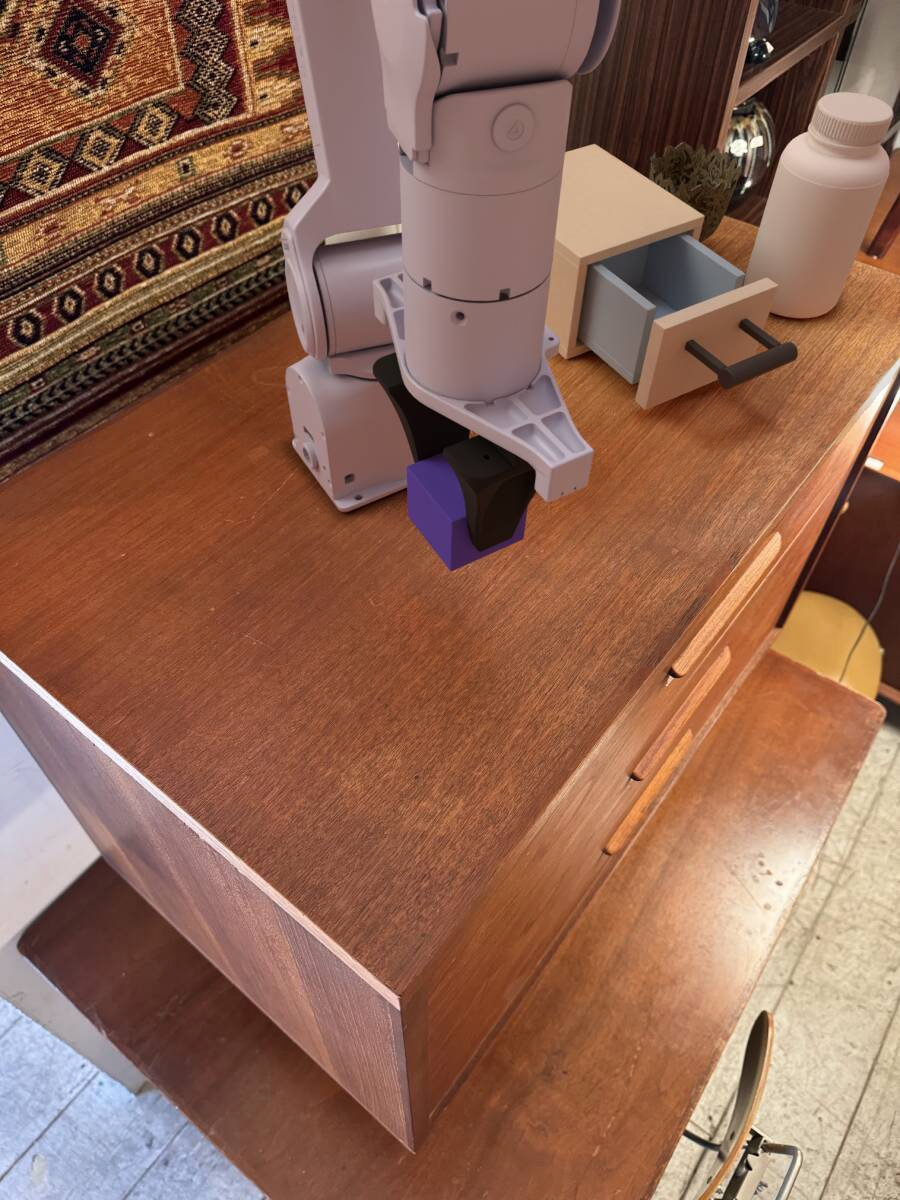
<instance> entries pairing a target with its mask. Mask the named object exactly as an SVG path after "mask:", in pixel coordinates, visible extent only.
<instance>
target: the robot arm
mask: <svg viewBox="0 0 900 1200" xmlns="http://www.w3.org/2000/svg"><path fill="white" fill-rule="evenodd" d="M285 2H286V7H287V13H288V17H289V23H290V29H291V35H292V40H293V45H294V52H295V56H296V62H297V66H298V67H297V68H298V71H299V72H298V73H299V78H300V84H301V89H302V94H303V99H304V105H305V110H306V116H307V121H308V126H309V132H310V137H311V143H312V149H313V154H314V160H315V165H316V170H317V171H316V172H317V175H318V176H317V179H316V180H315V181H314V183H313V184H312V185H311V187H310V188H308V191H306V192H305V194H304V195H303V196H302V197H301V198H300V199H299V201H298V202H297V203H296V204H295V205H294V206H293V207H292V209H291V210H290V211H289V212H288V214H287V215H286V217H285V218H284V220H283V224H282V231H281V234H280V241H281V246H282V252H283V257H284V272H285V282H286V288H287V293H288V299H289V304H290V310H291V313H292V317H293V322H294V325H295V329H296V332H297V333H296V334H297V336H298V338H299V342H300V344H301V347H302V349H303V351H304V352H305V353H306V354H308V355H307V356H305V357H304V358H301V360H299V361H297V362H295V363H294V364H291V365H290V366H288V367H287V368H286V370H285V390H286V394H287V401H288V407H289V412H290V418H291V419H290V420H291V425H292V429H293V431H292V432H293V435H294V436H293V437H294V438H293V439H292V445H291V446H292V448H293V449H294V450H295V452H296V453H297V455H298V456H299V457H300V459H301V460H302V462H303V463H304V464H305V466H306V467H307V468H308V469H309V471H310V472H311V474H312V476H313V477H314V478H315V480H316V481H317V482H318V484H319V485H320V486H321V487H322V489H323V490H324V492H325V493H326V495H327V496H328V497H329V498H330V500H331V501H332V503H333V504H334V505H335V507H336V509H338V511H339V512H341V513H348V512H350V511H353V510H356V509H359V508H360V507H363V506H365V505H368V504H370V503H372V502H376V501H377V500H381V499H382V498H385V497H387V496H390V495H392V494H394V493H397V492H399V491H402V490H404V489H407V466H409V465H412V464H414V463H417V462H419V461H422V460H424V459H427V458H429V457H432V456H435V455H437V454H440V453H442V452H443V456H444V457H445V459H446V460H447V461H448V463H449V464H450V466H451V467H452V469H453V470H454V472H455V474H456V476H457V478H458V481H459V483H460V486H461V489H462V493H463V497H464V501H465V509H466V522H467V528H468V533H469V536H470V539H471V542H472V544H473V545H474V547H475V548H476V549H477V550H478V551H480V552H482V551H484V550H486V549H489V548H491V547H493V546H495V545H498V544H500V543H502V542H504V541H507V540H509V539H511V538H512V537H513V534H514V532H515V530H516V528H517V526H518V524H519V522H520V520H521V518H522V516H523V514H524V512H525V510H526V508H527V509H528V507H527V506H529V505H530V503H531V502H532V500H533V498H534V497H535V495H536V494H538V495H539V496H540V497H541V498H542V499H543V500H544V501H545V503H548V504H549V503H551V502H553V501H556V500H559V499H561V498H564V497H566V496H568V495H571V494H573V493H576V491H578V490H581V489H583V488H586V487H588V485H589V479H590V475H591V471H592V464H593V460H594V454H595V450H594V448H593V447H592V446H591V445H590V444H589V443H588V442H587V441H586V440H585V438H584V437H583V436H582V435H581V433H580V431H579V430H578V429H577V427H576V425H575V423H574V421H573V418H572V416H571V414H570V411H569V409H568V407H567V405H566V402H565V400H564V397H563V395H562V392H561V390H560V388H559V386H558V383H557V381H556V378H555V376H554V373H553V371H552V368H551V366H550V364H549V362H548V360H549V359H552V358H554V357H556V356H557V355H558V354H559V353H558V351H559V344H560V339H559V337H558V336H557V335H556V334H555V333H553V332H552V331H551V330H550V329H549V328H548V327H547V326H546V325H545V320H546V312H547V303H548V294H549V286H550V277H551V267H552V261H553V253H554V244H555V236H556V227H557V218H558V210H559V201H560V192H561V184H562V175H563V166H564V158H565V152H566V149H567V141H568V140H567V139H568V131H569V124H570V114H571V106H572V97H573V89H574V86H573V85H572V83H571V82H570V81H569V80H568V79H570V78H571V77H572V76H574V75H575V74H577V75H581V76H582V75H587V74H590V73H591V72H594V70H595V69H597V67H598V66H599V65H600V64H601V62H602V61H603V59H604V58H605V56H606V54H607V52H608V50H609V48H610V45H611V43H612V40H613V37H614V35H615V31H616V29H617V24H618V21H619V15H620V11H621V6H622V5H621V4H622V0H285ZM395 225H401V232H395V233H390V234H389V233H388V234H384V235H383V234H382V235H377V236H371V237H365V238H360V239H353V240H352V239H351V240H347V241H340V242H335V243H328V244H323V245H320V244H321V243H322V242H323V241H324V240H325V239H327V238H331V237H333V236H336V235H341V234H345V233H353V232H358V231H359V232H360V231H365V230H370V229H371V230H372V229H376V228H383V227H388V226H389V227H390V226H395ZM471 432H473V433H475V434H477V435H475V436H472V437H471V436H470V435H471Z"/></svg>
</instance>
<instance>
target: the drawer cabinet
mask: <svg viewBox="0 0 900 1200" xmlns="http://www.w3.org/2000/svg"><path fill="white" fill-rule="evenodd" d="M704 217H705V216H704V215H702V214H701V213H699V212H698V211H696V210H695V209H693V208H692V207H690V206H689V205H687V204H686V203H684V202H683V201H681V200H680V199H678V198H677V197H675V196H674V195H672V194H670V193H669V192H667V191H666V190H664V189H663V188H661V187H660V186H658V185H657V184H655V183H654V182H652V181H651V180H649V177H646V176H644V175H643V174H642V173H640V172H639V171H637V170H635V168H632V167H631V166H629V165H628V164H626V163H625V162H623V161H622V160H620V159H619V158H617V157H616V156H614V155H612V154H611V153H610V152H608V151H607V150H605V149H603V148H602V147H600V146H599V145H597V144H595V143H593V144H589V145H586V146H582V147H579V148H576V149H572V150H569V151H565V158H564V166H563V175H562V184H561V192H560V201H559V210H558V218H557V227H556V236H555V244H554V253H553V261H552V267H551V277H550V286H549V294H548V303H547V312H546V320H545V325H546V326H547V327H548V328H549V329H550V330H551V331H552V332H553V333H555V334H556V335H557V336H558V337H559V339H560V344H559V351H558V354H559V355H560V356H561V357H562V358H563V359H564V360H566V361H567V360H569V359H572V358H574V357H577V356H580V355H583V354H585V353H588V352H591V351H592V350H591V349H590V348H589V347H588V346H586V345H585V344H584V343H583V342H582V341H581V340H580V339H578V338H577V333H578V326H579V319H580V313H581V306H582V299H583V293H584V286H585V279H586V273H587V265H589V264H592V263H595V262H598V261H601V260H603V259H606V258H609V257H612V256H615V255H618V254H621V253H624V252H627V251H630V250H633V249H636V248H639V247H642V246H645V245H647V244H650V243H653V242H656V241H659V240H662V239H665V238H668V237H671V236H674V235H677V234H680V233H683V232H685V233H687V234H688V235H690V236H691V237H693V238H694V239H696V240H697V241H699V237H700V233H701V229H702V225H703V221H704Z"/></svg>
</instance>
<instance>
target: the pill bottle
mask: <svg viewBox="0 0 900 1200" xmlns="http://www.w3.org/2000/svg"><path fill="white" fill-rule="evenodd" d="M893 119H894V111H893V109H892V107H891V106H890V105H889V104H888V103H887V102H885V101H883V100H881V99H879V98H876V97H875V96H871V95H868V94H863V93H858V92H849V91H843V92H842V91H841V92H840V91H839V92H832V93H828V94H826V95H823V96H822V97H821V98H820V99H819V100H818V101H817V103H816V106H815V110H814V111H813V116H812V117H811V122H810V123H809V125H808V128H807V131H805V132H803V133H801V134H798V136H795V137H794V138H793V139H792V140H790V142H788V144H787V145H786V147H785V148H784V149H783V151H782V153H781V155H780V157H779V161H778V164H777V168H776V171H775V174H774V176H773V177H774V178H773V180H772V184H771V187H770V191H769V194H768V197H767V201H766V205H765V208H764V211H763V214H762V218H761V221H760V224H759V228H758V231H757V234H756V238H755V241H754V243H753V244H754V245H753V247H752V251H751V254H750V256H749V261H748V264H747V267H746V270H745V278H744V281H743V286H746V285H748V284H751V283H753V282H756V281H759V280H761V279H764V278H769V279H770V280H772V281H773V282H774V283H776V284H777V285H779V286H778V289H777V292H776V295H775V298H774V301H773V304H772V306H771V309H770V312H769V313H772V314H775V315H778V316H781V317H786V318H792V319H793V318H794V319H810V318H817V317H820V316H823V315H825V314H827V313H829V312H831V310H832V309H834V308H835V306H836V305H837V303H838V301H839V300H840V298H841V296H842V294H843V291H844V289H845V286H846V284H847V281H848V279H849V276H850V274H851V271H852V269H853V266H854V264H855V261H856V258H857V256H858V253H859V251H860V249H861V246H862V244H863V242H864V239H865V236H866V234H867V231H868V229H869V226H870V223H871V221H872V219H873V216H874V214H875V212H876V209H877V206H878V204H879V201H880V198H881V196H882V194H883V191H884V188H885V186H886V184H887V181H888V179H889V175H890V169H891V164H890V158H889V157H890V156H889V155H888V153H887V151H886V150H885V149H884V147H883V146H882V145H881V144H882V142H883V141H884V138H885V137H886V135H887V134H888V131H889V128H890V126H891V124H892V121H893Z"/></svg>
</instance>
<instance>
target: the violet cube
mask: <svg viewBox="0 0 900 1200" xmlns="http://www.w3.org/2000/svg"><path fill="white" fill-rule="evenodd" d="M406 490H407V493H406V494H407V516H408V518H409V520H410V521H411V522H412V523H413V525H414V526H415V527H416V529H417V530H418V531H419V533H420V534H421V535H422V536H423V538H424V540H426V542H427V543H428V544H429V545H430V547H431V548H432V549H433V551H434V552H435V553H436V554H437V556H438V557H439V558H440V560H441V561H442V562H443V564H444V565H445V566H446V567H447V569H448V570H449V571H450V572H454V571H456V570H458V569H460V568H463V567H464V566H467V565H469V564H471V563H474V562H476V561H479V560H480V559H482V558H483V559H484V558H485V557H487V556H489V555H492V554H494V553H496V552H498V551H500V550H502V549H505V548H507V547H509V546H512V545H514V544H516V543H518V542H520V541H523V540H524V539H525V530H526V522H527V515H528V514H527V513H528V508H529V507H528V506H529V505H528V506H527V508H526V510H525V512H524V514H523V516H522V518H521V520H520V522H519V524H518V526H517V528H516V530H515V532H514V534H513V537H512V538H511V539H509V540H507V541H504V542H502V543H500V544H498V545H495V546H493V547H491V548H489V549H486V550H484V551H482V552H480V551H478V550H477V549H476V548H475V547H474V545H473V544H472V542H471V539H470V536H469V533H468V528H467V522H466V509H465V501H464V497H463V493H462V489H461V486H460V483H459V481H458V478H457V476H456V474H455V472H454V470H453V469H452V467H451V466H450V464H449V463H448V461H447V460H446V459H445V457H444V456H443V452H442V453H440V454H437V455H435V456H432V457H429V458H427V459H424V460H422V461H419V462H417V463H414V464H412V465H409V466H407V488H406Z"/></svg>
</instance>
